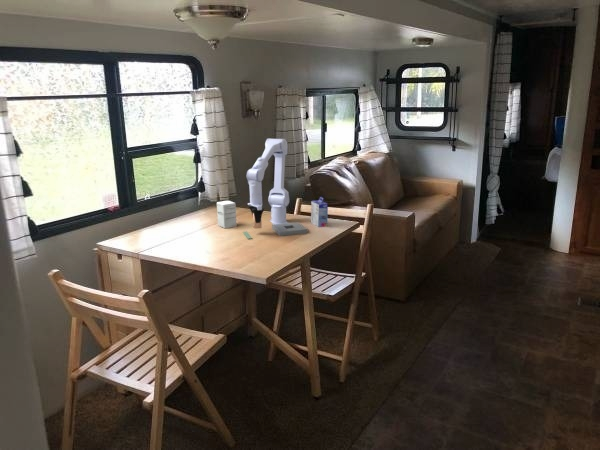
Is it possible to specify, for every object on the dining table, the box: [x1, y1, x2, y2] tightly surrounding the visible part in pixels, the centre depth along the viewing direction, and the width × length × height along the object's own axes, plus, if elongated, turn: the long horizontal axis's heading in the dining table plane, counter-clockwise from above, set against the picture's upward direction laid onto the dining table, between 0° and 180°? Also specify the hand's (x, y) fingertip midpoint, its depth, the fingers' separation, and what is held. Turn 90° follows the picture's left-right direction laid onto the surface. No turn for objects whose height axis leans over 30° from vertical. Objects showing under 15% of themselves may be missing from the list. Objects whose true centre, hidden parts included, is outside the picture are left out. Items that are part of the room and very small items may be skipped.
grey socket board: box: [271, 221, 309, 237], centre depth 242 cm, size 14×14×2 cm
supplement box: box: [216, 200, 237, 229], centre depth 253 cm, size 7×7×13 cm
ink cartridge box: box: [310, 196, 329, 228], centre depth 251 cm, size 10×6×14 cm, turn 22°
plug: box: [252, 213, 263, 230], centre depth 236 cm, size 4×4×7 cm
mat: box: [242, 230, 253, 240], centre depth 238 cm, size 12×12×1 cm
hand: (256, 221), depth 236 cm, fingers closed on plug, 4 cm apart
